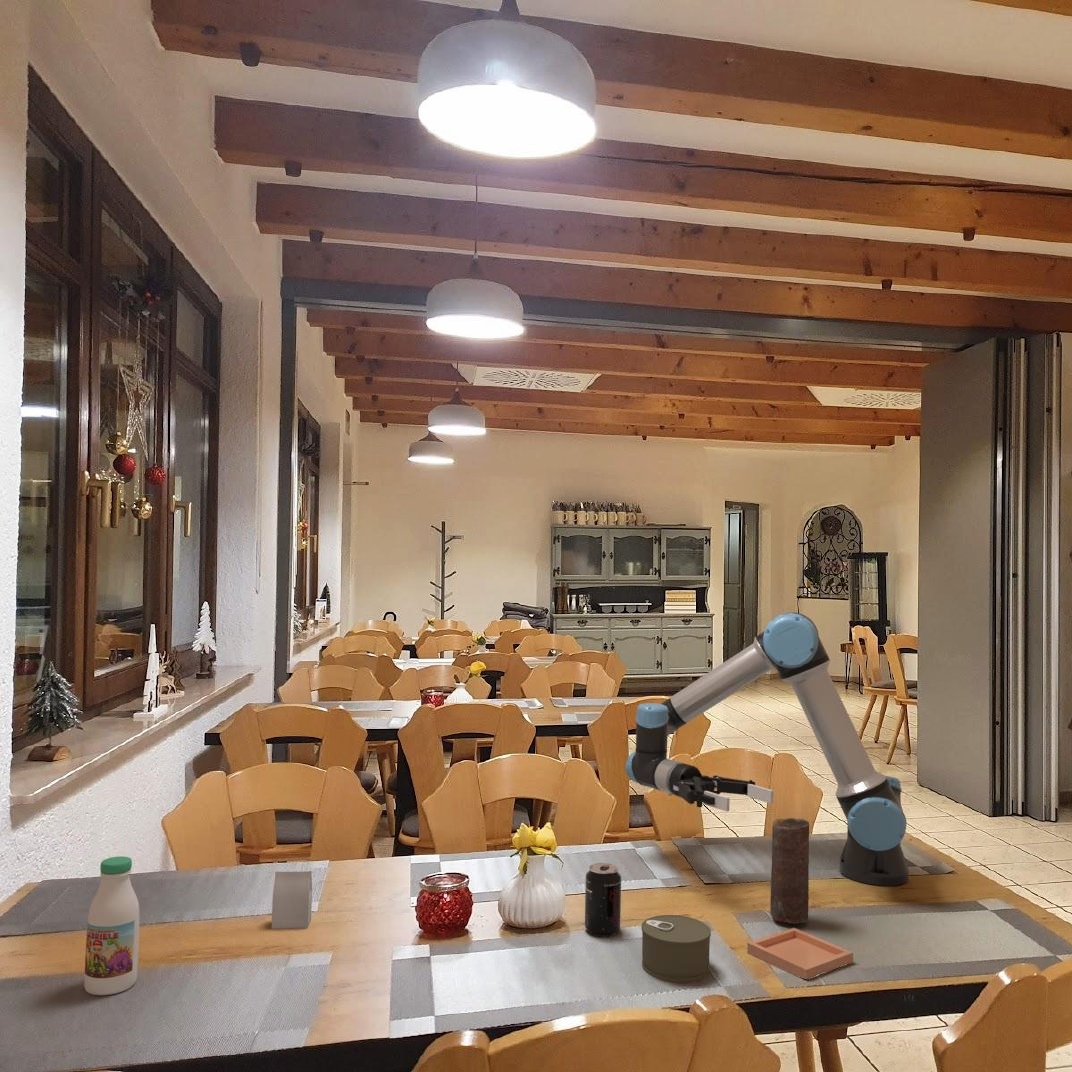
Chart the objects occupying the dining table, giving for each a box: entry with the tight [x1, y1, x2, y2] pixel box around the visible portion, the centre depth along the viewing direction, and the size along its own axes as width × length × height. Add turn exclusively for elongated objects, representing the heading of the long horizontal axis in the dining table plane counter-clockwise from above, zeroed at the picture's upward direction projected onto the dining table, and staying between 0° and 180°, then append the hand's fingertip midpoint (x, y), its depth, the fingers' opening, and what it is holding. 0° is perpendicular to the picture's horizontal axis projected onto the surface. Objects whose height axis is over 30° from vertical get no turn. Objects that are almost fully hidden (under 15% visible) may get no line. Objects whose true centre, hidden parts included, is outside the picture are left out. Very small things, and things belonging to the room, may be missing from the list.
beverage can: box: [584, 862, 622, 937], centre depth 168 cm, size 7×7×12 cm
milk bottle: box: [83, 855, 140, 996], centre depth 142 cm, size 8×8×20 cm
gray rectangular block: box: [271, 870, 313, 930], centre depth 168 cm, size 4×7×10 cm, turn 95°
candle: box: [769, 817, 810, 925], centre depth 175 cm, size 8×7×20 cm
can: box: [641, 914, 712, 984], centre depth 153 cm, size 12×12×7 cm
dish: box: [746, 927, 854, 980], centre depth 158 cm, size 13×13×2 cm
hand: (750, 800), depth 183 cm, fingers open, 13 cm apart
